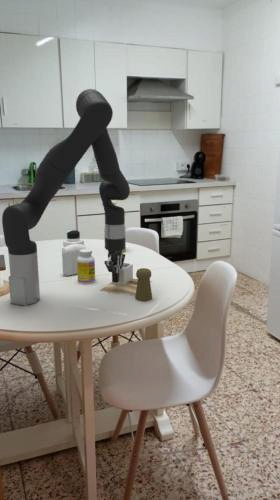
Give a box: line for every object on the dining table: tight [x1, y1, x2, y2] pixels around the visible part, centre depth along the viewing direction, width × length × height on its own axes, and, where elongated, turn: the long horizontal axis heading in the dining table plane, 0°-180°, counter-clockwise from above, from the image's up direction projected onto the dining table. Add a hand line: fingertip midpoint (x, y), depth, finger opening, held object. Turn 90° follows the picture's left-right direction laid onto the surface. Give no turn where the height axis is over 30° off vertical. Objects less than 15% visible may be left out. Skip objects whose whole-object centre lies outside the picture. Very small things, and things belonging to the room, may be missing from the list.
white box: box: [111, 262, 134, 285], centre depth 157 cm, size 8×5×6 cm, turn 157°
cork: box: [134, 267, 153, 302], centre depth 140 cm, size 6×6×11 cm
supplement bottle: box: [77, 248, 96, 285], centre depth 157 cm, size 7×7×13 cm
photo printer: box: [61, 244, 87, 277], centre depth 167 cm, size 10×4×12 cm, turn 123°
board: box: [99, 278, 153, 297], centre depth 153 cm, size 17×14×1 cm
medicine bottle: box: [62, 229, 85, 249], centre depth 194 cm, size 7×7×12 cm
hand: (115, 281), depth 151 cm, fingers closed
